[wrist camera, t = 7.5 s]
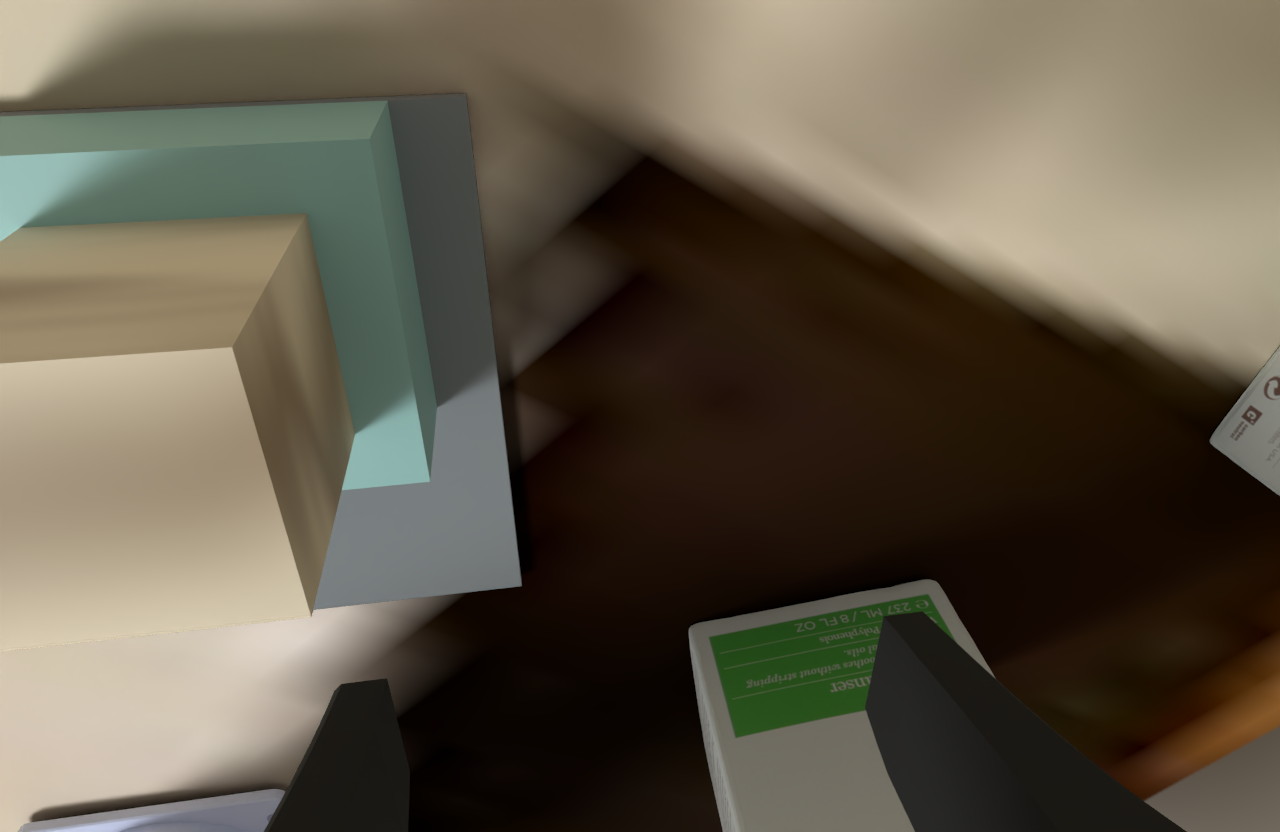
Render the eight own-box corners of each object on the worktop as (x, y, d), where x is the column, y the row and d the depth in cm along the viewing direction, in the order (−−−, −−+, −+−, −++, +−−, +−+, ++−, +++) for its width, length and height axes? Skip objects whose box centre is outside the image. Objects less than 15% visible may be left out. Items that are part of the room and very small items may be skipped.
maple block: (355, 434, 17) (311, 617, 12) (112, 455, 16) (-19, 653, 12) (306, 212, 14) (231, 346, 10) (19, 227, 14) (-186, 376, 9)
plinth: (437, 407, 20) (430, 481, 18) (124, 434, 19) (70, 516, 17) (387, 100, 16) (369, 138, 14) (-3, 116, 15) (-98, 160, 13)
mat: (521, 576, 24) (521, 585, 23) (-101, 646, 22) (-110, 657, 21) (466, 93, 17) (465, 97, 16) (-453, 130, 15) (-475, 136, 14)
